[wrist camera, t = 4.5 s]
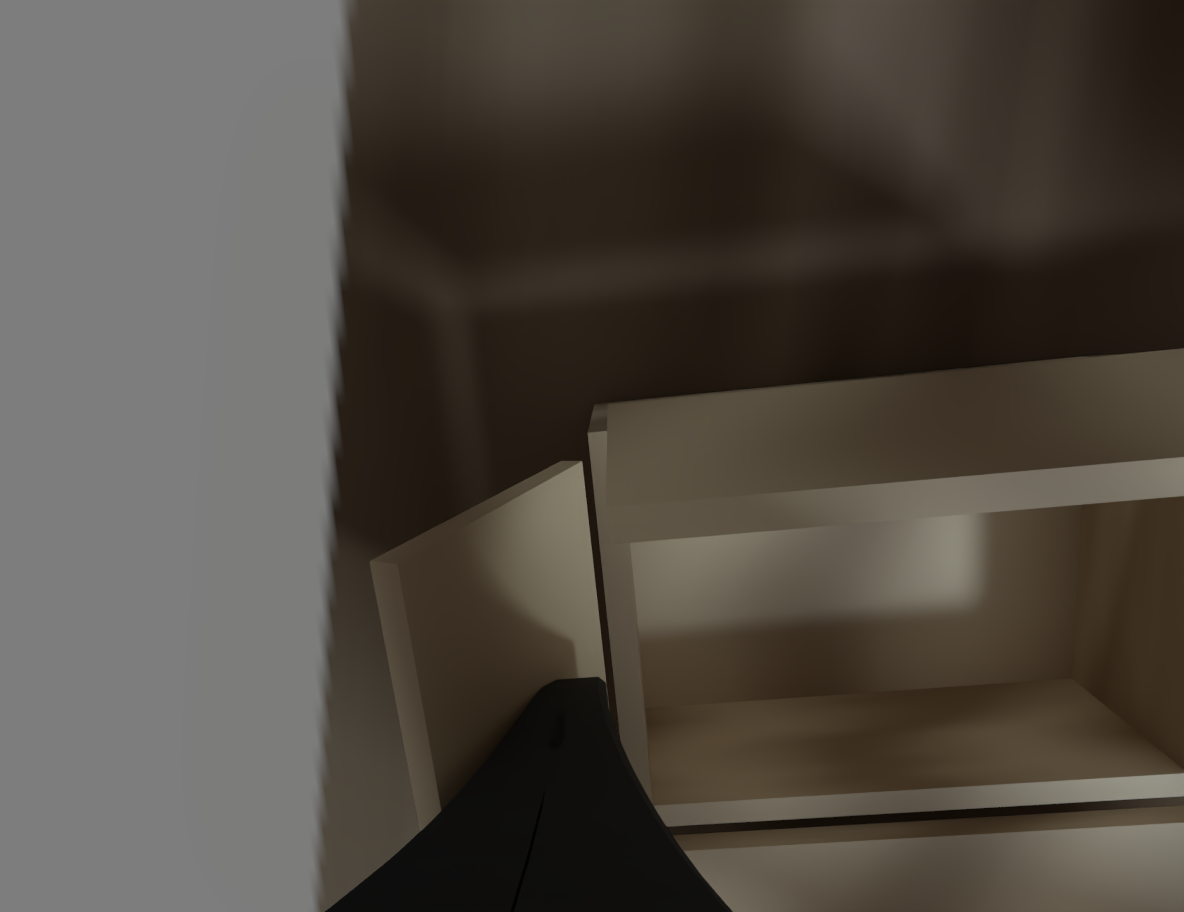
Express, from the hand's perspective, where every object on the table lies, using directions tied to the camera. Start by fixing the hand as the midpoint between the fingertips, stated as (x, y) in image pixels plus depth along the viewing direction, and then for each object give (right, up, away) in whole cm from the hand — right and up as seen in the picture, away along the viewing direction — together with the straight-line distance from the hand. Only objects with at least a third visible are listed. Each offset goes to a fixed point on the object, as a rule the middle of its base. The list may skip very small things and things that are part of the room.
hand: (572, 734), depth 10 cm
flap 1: (0, 0, -1) cm, 1 cm away
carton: (+9, 0, +5) cm, 10 cm away
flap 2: (+6, +5, -2) cm, 8 cm away
